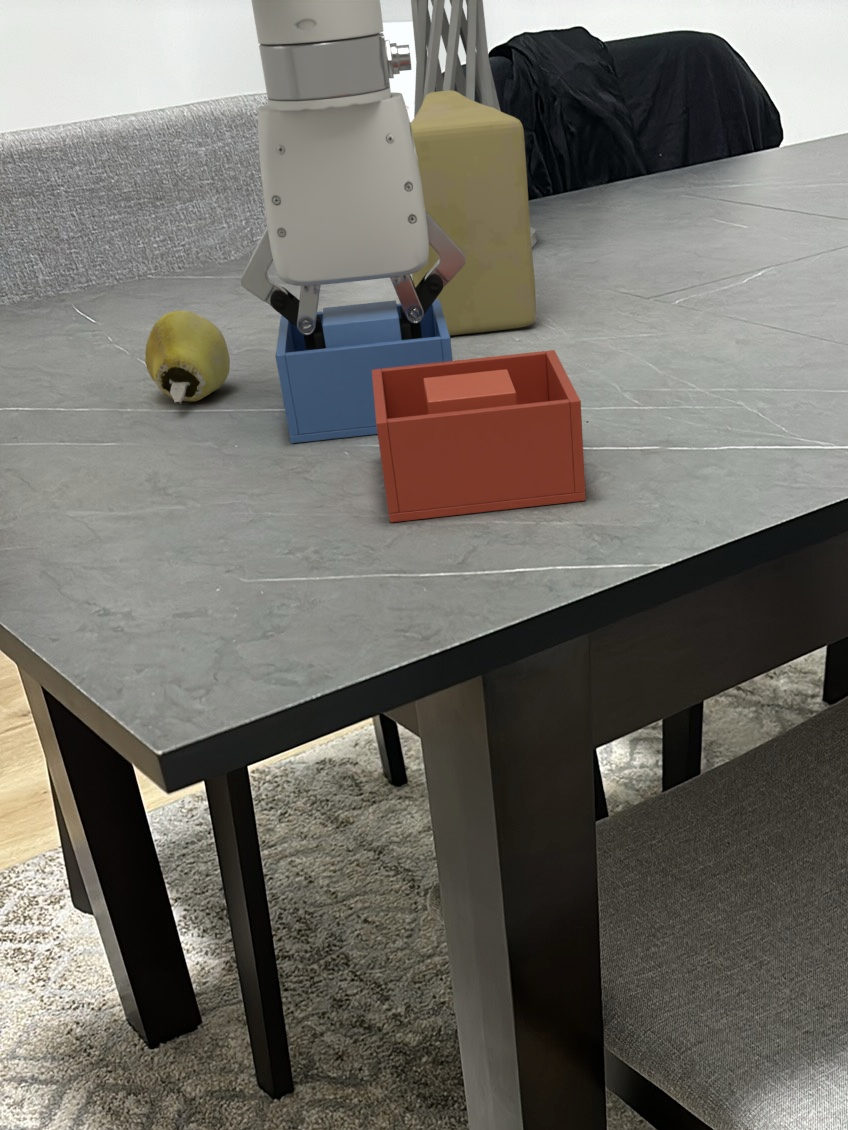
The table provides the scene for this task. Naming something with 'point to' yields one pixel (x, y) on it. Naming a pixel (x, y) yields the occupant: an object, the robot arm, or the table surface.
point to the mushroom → (186, 356)
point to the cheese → (478, 210)
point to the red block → (469, 391)
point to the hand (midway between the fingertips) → (370, 383)
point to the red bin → (479, 441)
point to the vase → (453, 54)
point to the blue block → (361, 324)
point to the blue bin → (347, 377)
